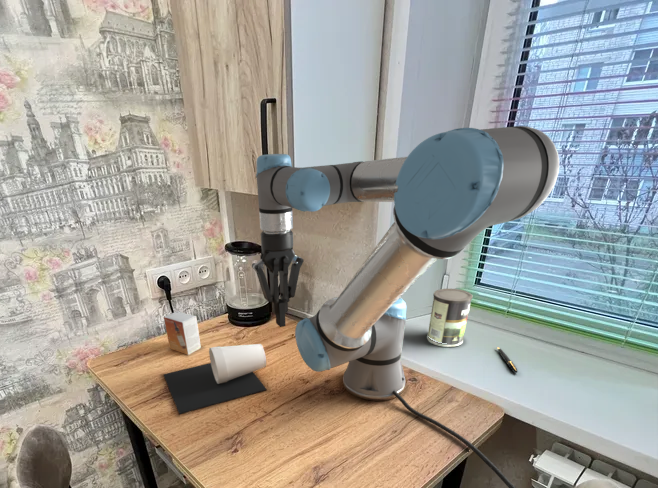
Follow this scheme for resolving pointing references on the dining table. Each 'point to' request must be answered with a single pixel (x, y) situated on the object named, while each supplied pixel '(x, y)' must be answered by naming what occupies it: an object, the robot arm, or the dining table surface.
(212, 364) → the foam cup
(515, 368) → the fountain pen
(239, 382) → the mat
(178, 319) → the small box
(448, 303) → the coffee can
